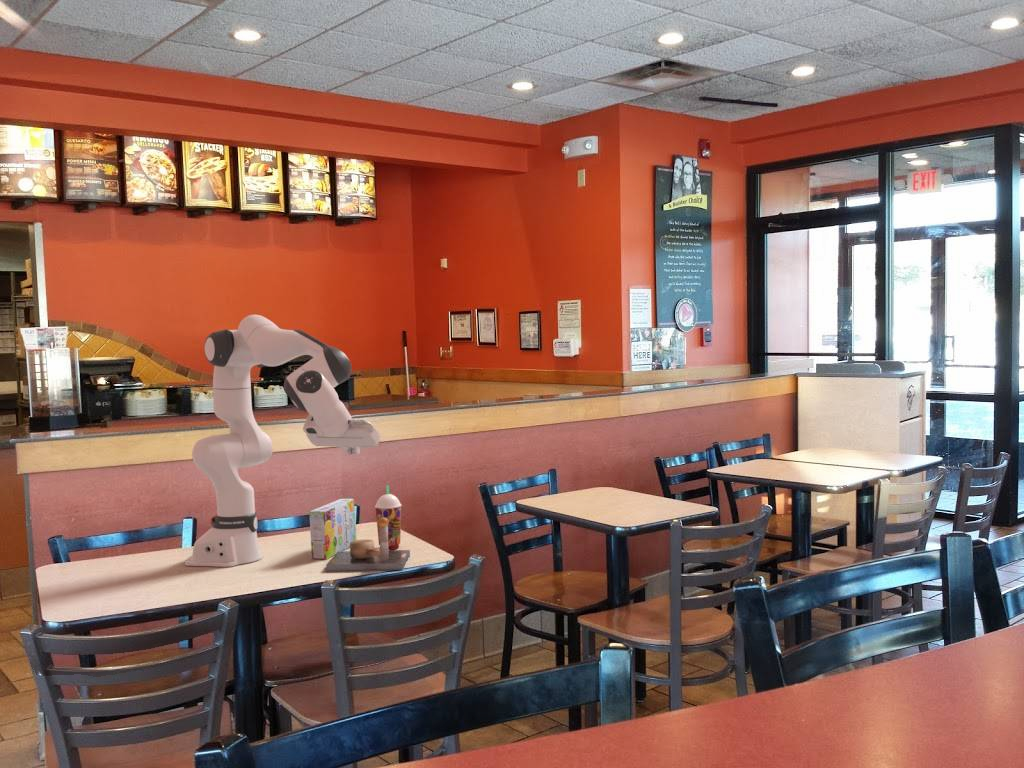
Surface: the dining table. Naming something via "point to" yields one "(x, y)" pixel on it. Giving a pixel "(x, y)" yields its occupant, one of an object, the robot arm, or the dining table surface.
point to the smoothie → (390, 518)
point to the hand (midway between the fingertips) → (354, 452)
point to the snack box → (332, 528)
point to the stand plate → (368, 562)
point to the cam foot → (372, 544)
